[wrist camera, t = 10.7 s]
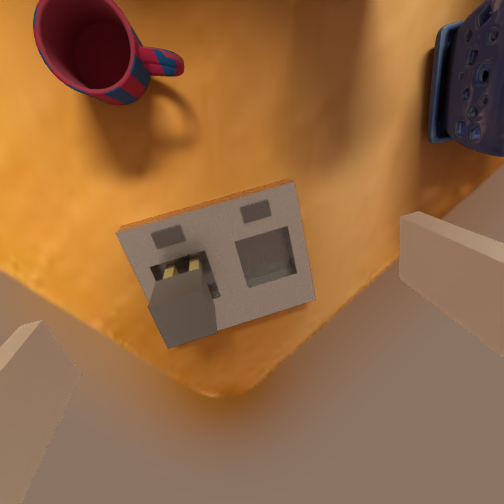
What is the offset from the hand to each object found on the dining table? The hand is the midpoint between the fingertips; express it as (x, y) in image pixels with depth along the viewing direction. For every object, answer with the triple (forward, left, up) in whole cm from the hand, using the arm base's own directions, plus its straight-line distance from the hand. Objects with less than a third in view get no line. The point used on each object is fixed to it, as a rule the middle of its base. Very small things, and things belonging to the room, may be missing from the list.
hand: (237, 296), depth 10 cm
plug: (+9, -6, -23) cm, 26 cm away
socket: (+9, -1, -24) cm, 25 cm away
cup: (-13, -4, -24) cm, 27 cm away
